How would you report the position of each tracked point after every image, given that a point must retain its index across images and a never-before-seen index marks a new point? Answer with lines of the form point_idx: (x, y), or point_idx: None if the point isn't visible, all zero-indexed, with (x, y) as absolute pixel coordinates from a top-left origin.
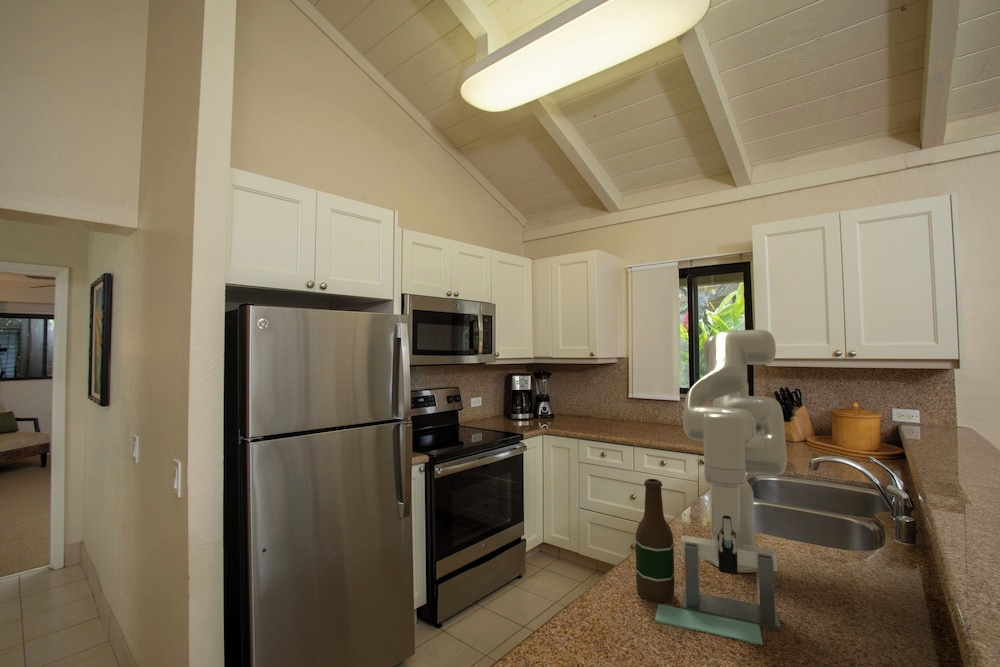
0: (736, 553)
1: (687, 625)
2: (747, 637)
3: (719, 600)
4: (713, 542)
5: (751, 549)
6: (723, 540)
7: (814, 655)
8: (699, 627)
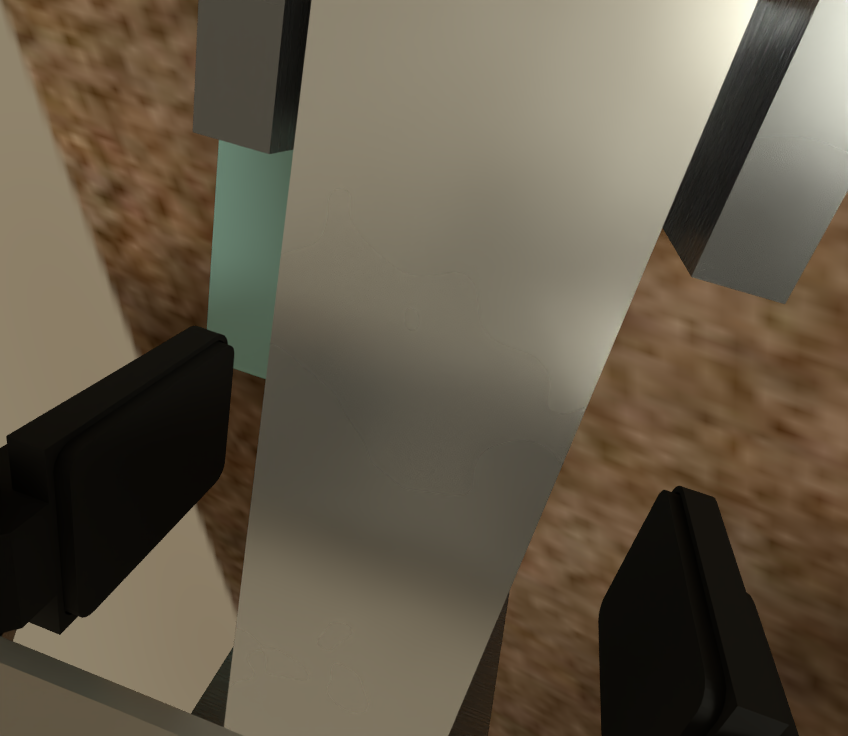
0: (34, 618)
1: None
2: (229, 308)
3: None
4: (403, 500)
5: None
6: (659, 687)
7: (213, 514)
8: None
